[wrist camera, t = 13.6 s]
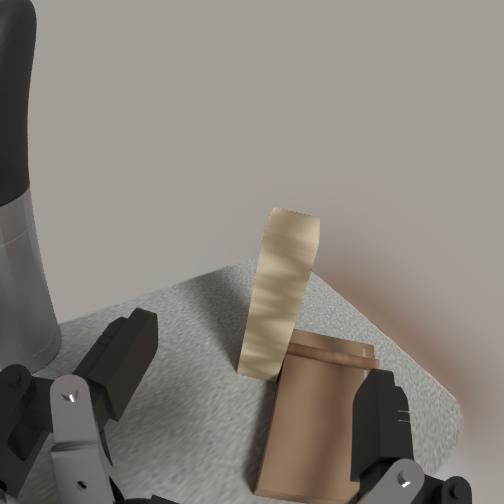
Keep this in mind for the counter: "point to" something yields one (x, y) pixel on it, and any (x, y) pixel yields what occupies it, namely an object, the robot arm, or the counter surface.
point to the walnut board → (312, 425)
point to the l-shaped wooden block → (284, 298)
